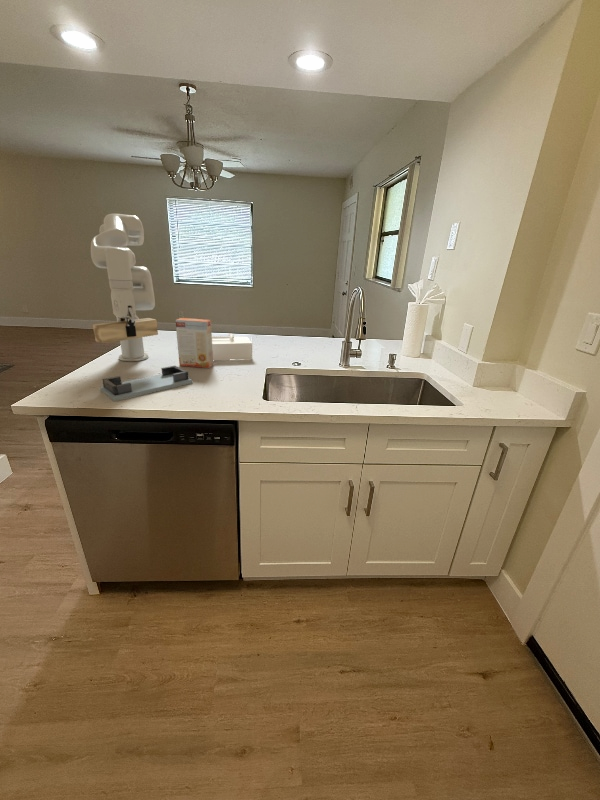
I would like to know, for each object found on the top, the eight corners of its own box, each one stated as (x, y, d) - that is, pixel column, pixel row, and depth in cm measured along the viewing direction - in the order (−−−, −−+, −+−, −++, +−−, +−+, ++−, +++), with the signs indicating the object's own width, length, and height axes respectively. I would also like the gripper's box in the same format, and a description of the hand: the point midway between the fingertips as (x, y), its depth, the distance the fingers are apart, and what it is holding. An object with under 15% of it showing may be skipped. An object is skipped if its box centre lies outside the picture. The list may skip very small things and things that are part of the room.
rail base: (100, 390, 122) (98, 378, 120) (176, 374, 142) (175, 364, 140) (114, 401, 114) (112, 388, 112) (192, 383, 133) (191, 372, 132)
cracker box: (213, 364, 157) (211, 319, 149) (209, 368, 152) (206, 321, 143) (184, 362, 158) (180, 317, 150) (178, 366, 152) (174, 319, 144)
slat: (95, 341, 122) (92, 324, 119) (150, 332, 139) (148, 317, 136) (103, 343, 119) (100, 326, 117) (158, 334, 136) (156, 319, 134)
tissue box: (252, 360, 169) (252, 338, 164) (200, 362, 161) (198, 339, 157) (247, 352, 181) (247, 332, 177) (198, 354, 173) (197, 332, 169)
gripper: (101, 283, 124) (109, 332, 131) (119, 287, 114) (127, 340, 121) (122, 282, 130) (129, 330, 137) (142, 287, 119) (148, 338, 126)
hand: (128, 334), depth 129 cm, fingers closed on slat, 5 cm apart
